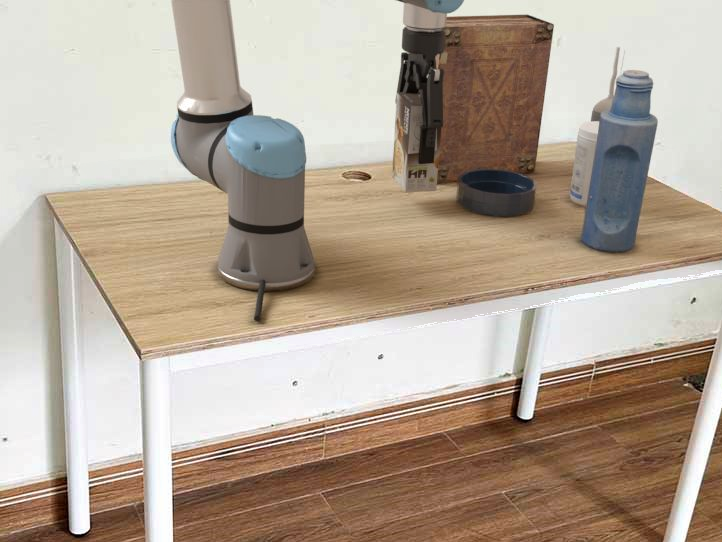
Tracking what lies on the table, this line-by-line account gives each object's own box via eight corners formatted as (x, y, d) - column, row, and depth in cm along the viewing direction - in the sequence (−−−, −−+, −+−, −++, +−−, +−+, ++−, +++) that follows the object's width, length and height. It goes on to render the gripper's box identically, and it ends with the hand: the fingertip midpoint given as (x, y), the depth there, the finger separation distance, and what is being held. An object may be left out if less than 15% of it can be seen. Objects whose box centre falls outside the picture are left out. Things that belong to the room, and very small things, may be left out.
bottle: (636, 238, 192) (668, 69, 177) (632, 257, 183) (664, 82, 168) (583, 230, 193) (610, 62, 178) (577, 248, 185) (604, 74, 170)
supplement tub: (622, 199, 210) (635, 125, 202) (611, 213, 202) (624, 137, 195) (575, 190, 213) (586, 117, 205) (562, 204, 205) (573, 128, 198)
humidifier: (597, 159, 232) (616, 41, 219) (626, 169, 227) (647, 49, 214) (572, 165, 227) (590, 45, 215) (601, 175, 222) (621, 53, 209)
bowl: (547, 214, 199) (550, 191, 197) (476, 220, 194) (479, 197, 192) (511, 188, 211) (514, 166, 209) (444, 193, 206) (446, 171, 204)
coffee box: (437, 191, 195) (445, 104, 186) (404, 193, 193) (410, 105, 185) (422, 175, 202) (428, 90, 194) (390, 176, 200) (395, 91, 192)
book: (428, 184, 210) (440, 27, 195) (407, 169, 217) (417, 17, 202) (535, 172, 221) (554, 23, 206) (511, 159, 228) (529, 13, 213)
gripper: (470, 41, 176) (458, 172, 187) (419, 14, 193) (411, 136, 205) (429, 42, 173) (419, 175, 185) (381, 15, 191) (375, 138, 202)
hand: (415, 154), depth 195 cm, fingers closed on coffee box, 9 cm apart
